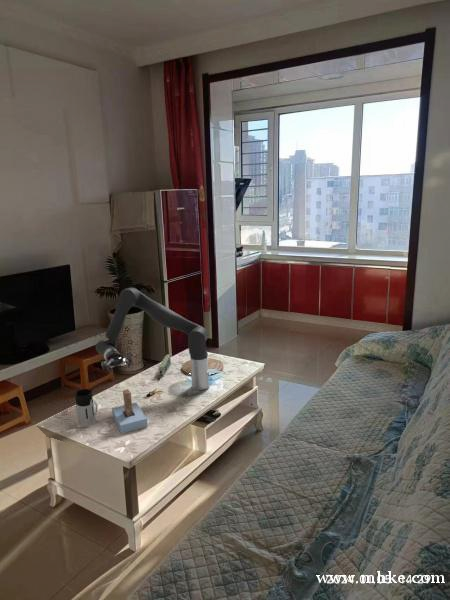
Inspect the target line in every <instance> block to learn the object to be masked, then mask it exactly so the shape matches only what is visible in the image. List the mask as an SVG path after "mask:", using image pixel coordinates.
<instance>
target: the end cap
mask: <svg viewBox="0 0 450 600" xmlns="http://www.w3.org/2000/svg"><path fill="white" fill-rule="evenodd" d="M132 412H133V416H130V417H125V407H124V404H123V405H120V406H115V407H111V415H112V417H113V420H114V422H115V424H116V426H117V428H118V430H119V432H120V434H125V433H129V432H132V431H135V430H139V429H140V430H141V429H143V428H147V427H148V418H147V417H146V415H145V414H144V412H143V410H142V409H141V408H140V406H139V405H138V402H133V403H132Z"/></svg>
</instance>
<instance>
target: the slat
mask: <svg viewBox="0 0 450 600" xmlns="http://www.w3.org/2000/svg"><path fill="white" fill-rule="evenodd" d="M122 395H123V405H124V407H125V417H130V416H133V412H132V402H133V401H132V392H131V391H130V389H123V390H122Z"/></svg>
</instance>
